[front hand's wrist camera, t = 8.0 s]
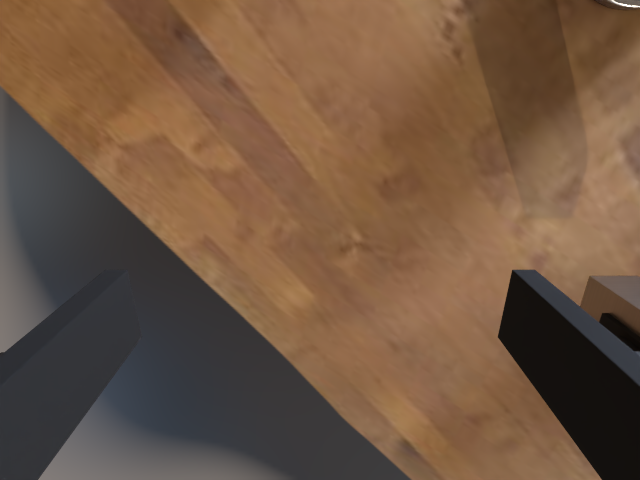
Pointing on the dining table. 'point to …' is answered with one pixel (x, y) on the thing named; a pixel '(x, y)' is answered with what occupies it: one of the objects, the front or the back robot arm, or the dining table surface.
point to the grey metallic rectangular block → (614, 299)
